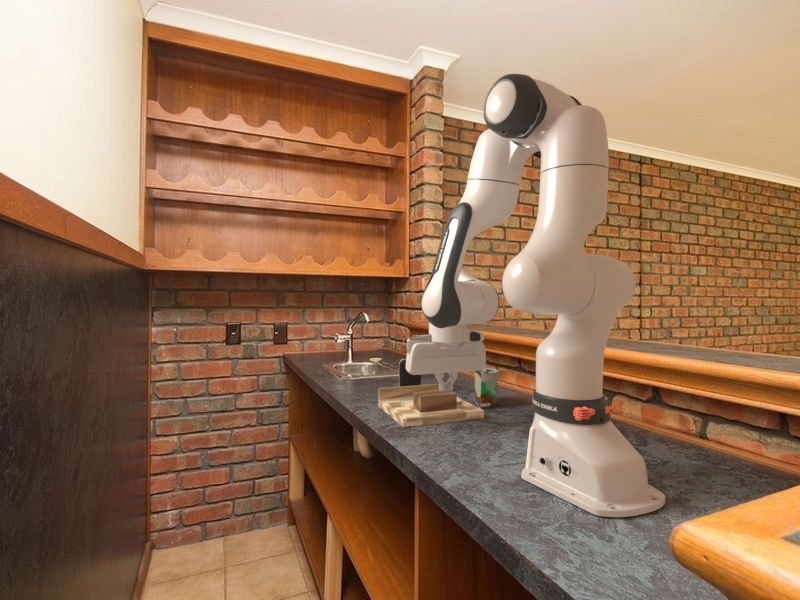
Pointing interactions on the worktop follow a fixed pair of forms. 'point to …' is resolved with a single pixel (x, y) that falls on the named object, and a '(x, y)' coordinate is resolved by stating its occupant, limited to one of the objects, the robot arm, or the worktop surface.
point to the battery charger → (407, 376)
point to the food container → (486, 387)
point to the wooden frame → (402, 411)
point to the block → (434, 400)
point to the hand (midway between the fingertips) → (445, 390)
